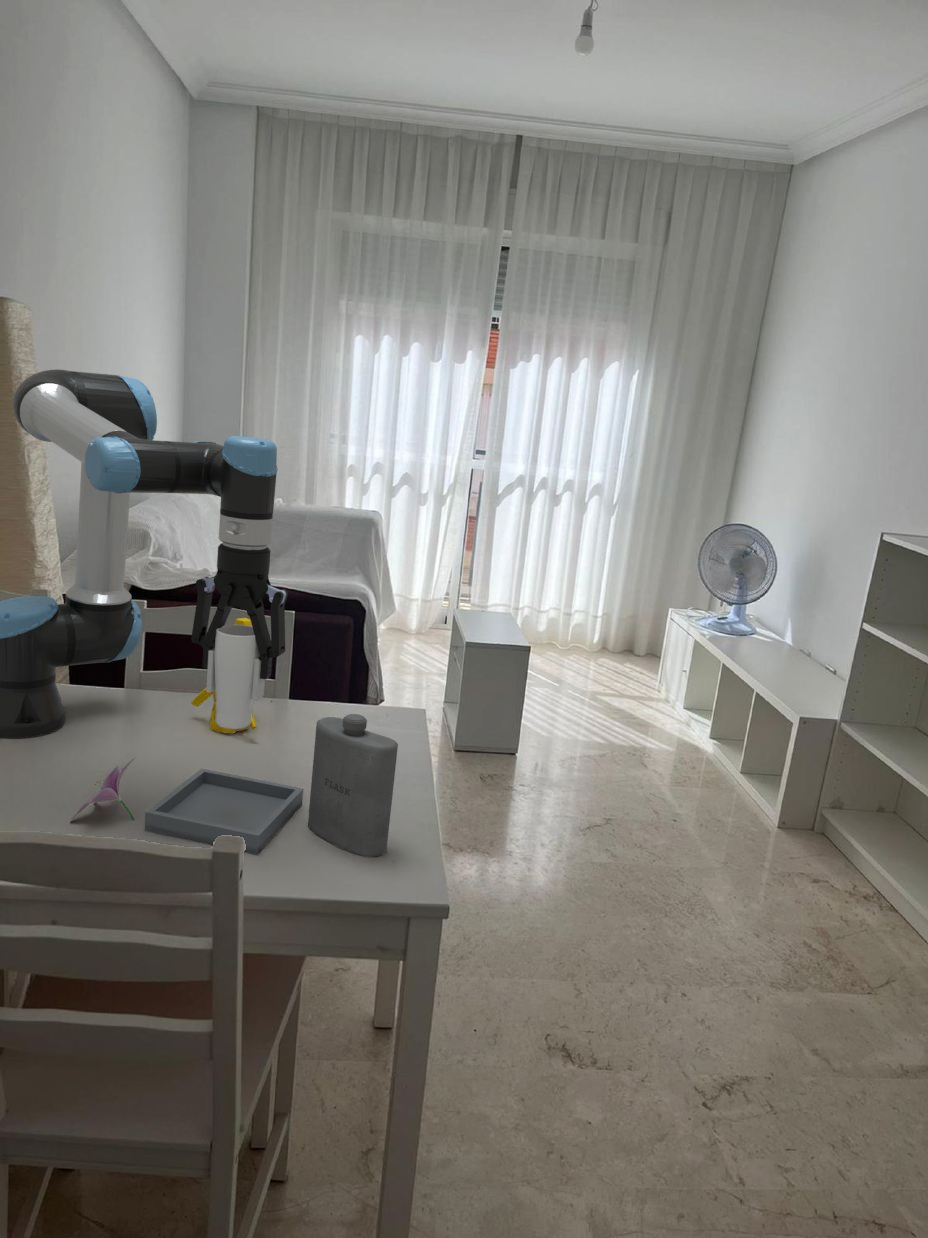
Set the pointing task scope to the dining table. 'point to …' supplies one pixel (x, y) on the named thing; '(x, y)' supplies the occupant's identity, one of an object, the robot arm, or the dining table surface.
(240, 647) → the drinking glass
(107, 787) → the lily
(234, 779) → the tray
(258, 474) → the robot arm
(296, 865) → the dining table surface
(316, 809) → the flask
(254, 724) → the figure statuette
